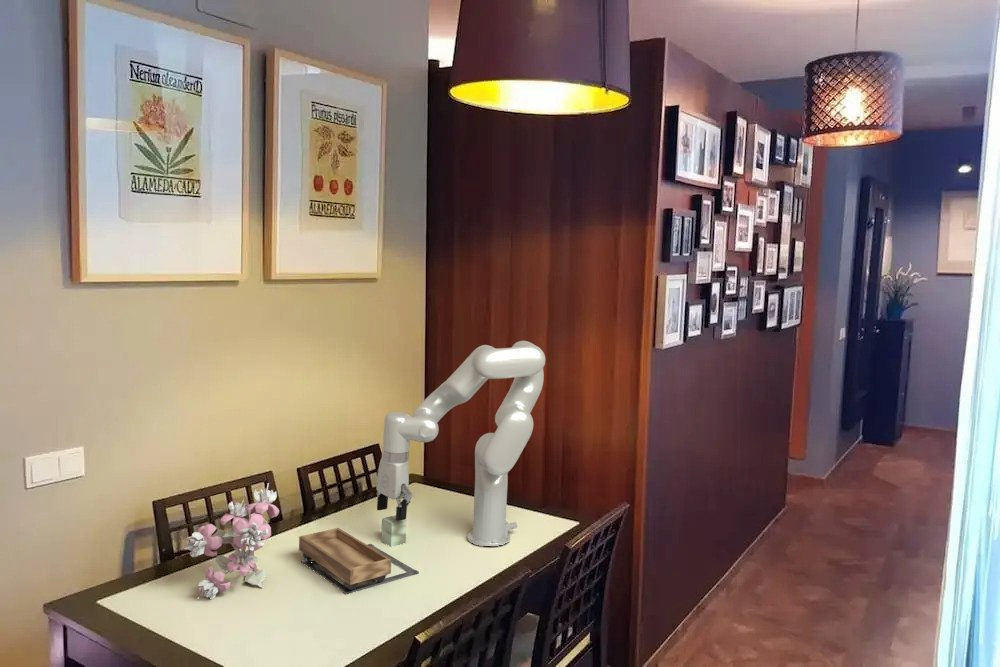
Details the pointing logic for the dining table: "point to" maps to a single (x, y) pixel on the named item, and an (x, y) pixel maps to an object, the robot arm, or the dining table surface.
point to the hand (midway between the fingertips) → (391, 514)
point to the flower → (235, 542)
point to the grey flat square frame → (368, 585)
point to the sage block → (393, 531)
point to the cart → (345, 556)
